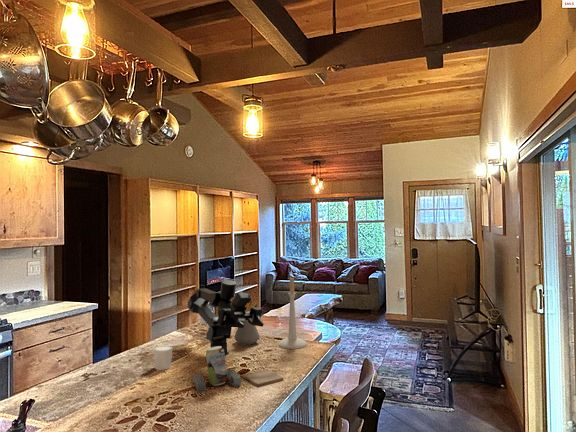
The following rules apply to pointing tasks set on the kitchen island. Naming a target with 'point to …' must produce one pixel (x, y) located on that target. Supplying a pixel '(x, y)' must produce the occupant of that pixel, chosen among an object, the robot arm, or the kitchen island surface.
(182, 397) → the kitchen island surface
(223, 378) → the beverage can
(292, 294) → the candlestick
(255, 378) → the walnut board
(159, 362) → the shot glass
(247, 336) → the coffee pot
